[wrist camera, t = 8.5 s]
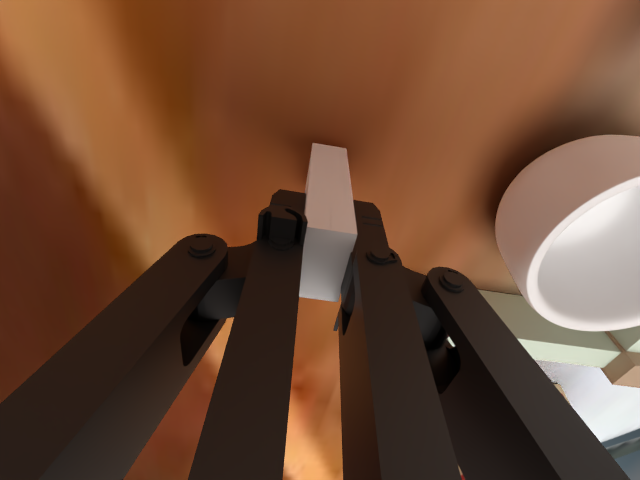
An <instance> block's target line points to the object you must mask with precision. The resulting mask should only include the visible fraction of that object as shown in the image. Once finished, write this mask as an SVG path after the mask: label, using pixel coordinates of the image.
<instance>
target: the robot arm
mask: <svg viewBox="0 0 640 480" xmlns="http://www.w3.org/2000/svg"><path fill="white" fill-rule="evenodd" d="M340 293H341V300H342V302H341V306H340V309H339V312H338V316H337V319H336V322H335V326H334V331H337V329H338V326H339V358H340V390H341V422H342V454H343V480H462V478H461V474H460V471H459V468H460V470H461V472H462V474H463V476H464V478H465V480H630V479H629V478H628V476H627V475H626V474H625V472H624V471H623V470H622V469H621V468H620V466H619V465H618V464H617V462H616V461H615V460H614V459H613V457H612V456H611V455H610V454H609V452H608V451H607V450H606V449H605V447H604V446H603V445H602V444H601V443H600V441H599V440H598V439H597V438H596V436H595V435H594V434H593V433H592V431H591V430H590V429H589V428H588V426H587V425H586V424H585V423H584V421H583V420H582V419H581V418H580V416H579V415H578V414H577V413H576V411H575V410H574V409H573V408H572V406H571V405H570V404H569V403H568V401H567V400H566V399H565V398H564V396H563V395H562V394H561V393H560V392H559V390H558V389H557V388H556V387H555V385H554V384H553V383H552V382H551V380H550V379H549V378H548V377H547V375H546V374H545V373H544V372H543V370H542V369H541V368H540V367H539V365H538V364H537V363H536V362H535V360H534V359H533V358H532V357H531V355H530V354H529V353H528V352H527V350H526V349H525V348H524V347H523V346H522V344H521V343H520V342H519V341H518V339H517V338H516V337H515V336H514V334H513V333H512V332H511V331H510V329H509V328H508V327H507V326H506V324H505V323H504V322H503V321H502V319H501V318H500V317H499V316H498V314H497V313H496V312H495V311H494V309H493V308H492V307H491V306H490V304H489V303H488V302H487V301H486V299H485V298H484V297H483V296H482V295H481V293H480V292H479V291H478V290H477V288H476V287H475V286H474V285H473V283H472V282H471V281H470V280H469V279H468V278H467V277H466V276H464V275H463V274H461V273H459V272H458V271H456V270H453V269H450V268H446V267H436V268H432V269H431V270H430V271H429V272H428V274H427V276H425V275H423V274H420V273H417V272H414V271H412V270H410V269H407V268H405V267H404V266H402V262H401V259H400V258H399V256H398V254H397V253H396V252H394V251H393V250H392V249H390V248H389V246H388V242H387V238H386V234H385V230H384V227H383V222H382V218H381V214H380V211H379V210H378V208H377V207H376V206H375V205H374V204H373V203H369V202H362V201H356V200H353V196H352V188H351V180H350V172H349V165H348V157H347V149H346V148H341V147H335V146H329V145H323V144H317V143H313V144H312V150H311V156H310V162H309V169H308V175H307V181H306V187H305V193H300V192H294V191H287V190H281V189H280V190H278V191H277V192H276V193H275V194H273V195H272V199H271V202H270V206H269V207H267V208H265V209H263V210H262V211H261V212H260V213H259V218H258V231H257V241H255V242H253V243H251V244H248V245H245V246H239V247H227V243H226V242H225V241H224V240H223V239H222V238H219V237H217V236H215V235H210V234H194V235H190V236H187V237H185V238H183V239H182V240H180V241H178V242H177V243H176V244H175V245H174V246H173V247H172V248H171V249H170V250H169V251H168V252H166V253H165V254H164V255H163V256H162V257H161V258H160V259H159V260H158V261H157V262H155V263H154V264H153V265H152V266H151V267H150V268H149V269H148V270H147V271H146V272H144V273H143V274H142V275H141V276H140V277H139V278H138V279H137V280H136V281H135V282H134V283H132V284H131V285H130V286H129V287H128V288H127V289H126V290H125V291H124V292H123V293H121V294H120V295H119V296H118V297H117V298H116V299H115V300H114V301H113V302H112V303H110V304H109V305H108V306H107V307H106V308H105V309H104V310H103V311H102V312H101V313H100V314H98V315H97V316H96V317H95V318H94V319H93V320H92V321H91V322H90V323H89V324H87V325H86V326H85V327H84V328H83V329H82V330H81V331H80V332H79V333H78V334H76V335H75V336H74V337H73V338H72V339H71V340H70V341H69V342H68V343H67V344H66V345H64V346H63V347H62V348H61V349H60V350H59V351H58V352H57V353H56V354H55V355H53V356H52V357H51V358H50V359H49V360H48V361H47V362H46V363H45V364H44V365H42V366H41V367H40V368H39V369H38V370H37V371H36V372H35V373H34V374H33V375H32V376H30V377H29V378H28V379H27V380H26V381H25V382H24V383H23V384H22V385H21V386H19V387H18V388H17V389H16V390H15V391H14V392H13V393H12V394H11V395H10V396H8V397H7V398H6V399H5V400H4V401H3V402H2V403H1V404H0V480H123V478H124V477H125V475H126V474H127V472H128V471H129V469H130V468H131V466H132V465H133V463H134V462H135V460H136V459H137V457H138V455H139V454H140V452H141V451H142V449H143V448H144V446H145V445H146V443H147V442H148V440H149V439H150V437H151V435H152V434H153V432H154V431H155V429H156V428H157V426H158V425H159V423H160V422H161V420H162V419H163V417H164V415H165V414H166V412H167V411H168V409H169V408H170V406H171V405H172V403H173V402H174V400H175V399H176V397H177V395H178V394H179V392H180V391H181V389H182V388H183V386H184V385H185V383H186V382H187V380H188V379H189V377H190V376H191V374H192V372H193V371H194V369H195V368H196V366H197V365H198V363H199V362H200V360H201V359H202V357H203V356H204V354H205V352H206V351H207V349H208V348H209V346H210V345H211V343H212V342H213V340H214V339H215V337H216V336H217V334H218V332H219V331H220V329H221V328H222V326H223V325H224V323H225V321H226V318H231V317H234V321H233V324H232V328H231V331H230V335H229V338H228V342H227V345H226V349H225V352H224V356H223V359H222V363H221V366H220V370H219V373H218V376H217V380H216V383H215V387H214V390H213V394H212V397H211V401H210V404H209V408H208V411H207V415H206V418H205V422H204V425H203V429H202V432H201V436H200V439H199V443H198V446H197V450H196V453H195V457H194V460H193V464H192V467H191V470H190V474H189V477H188V480H282V478H283V467H284V456H285V445H286V434H287V423H288V412H289V401H290V390H291V379H292V368H293V357H294V346H295V335H296V324H297V313H298V302H299V297H304V298H312V299H319V300H327V301H334V302H338V300H339V297H340ZM448 337H450V339H451V340H452V342H453V343H454V345H455V346H454V347H453V346H452V345H451V344H450V342H449V341H448ZM458 466H459V467H458Z"/></svg>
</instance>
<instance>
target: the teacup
mask: <svg viewBox="0 0 640 480" xmlns="http://www.w3.org/2000/svg"><path fill="white" fill-rule="evenodd" d="M495 236H496V242H497V246H498V248H499V251H500V254H501V256H502V258H503V260H504V262H505V264H506V266H507V268H508V270H509V272H510V274H511V276H512V278H513V280H514V282H515V283H516V285H517V287H518V289H519V290H520V292H521V294H522V295H523V297H524V298H525V300H526V301H527V302H528V304H529V305H530V306H531V307H532V308H533V309H534V310H535V311H536V312H537V313H539V314H540V315H541V316H542V317H544V318H545V319H547V320H548V321H550V322H552V323H554V324H556V325H559V326H562V327H565V328H569V329H574V330H581V331H611V330H619V329H626V328H631V327H635V326H639V325H640V137H639V136H628V135H598V136H591V137H586V138H582V139H578V140H575V141H572V142H569V143H566V144H563V145H561V146H558V147H556V148H554V149H552V150H550V151H548V152H546V153H545V154H543V155H541V156H540V157H538V158H537V159H535V160H534V161H533V162H531V163H530V164H529V165H527V166H526V167H525V168H524V169H523V170H522V171H521V172H520V173H519V174H518V175H517V176H516V177H515V178H514V180H513V181H512V182H511V184H510V185H509V186H508V188H507V190H506V191H505V193H504V195H503V197H502V199H501V201H500V204H499V207H498V211H497V215H496V221H495Z"/></svg>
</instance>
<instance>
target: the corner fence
mask: <svg viewBox="0 0 640 480" xmlns="http://www.w3.org/2000/svg"><path fill="white" fill-rule="evenodd" d="M477 290H478V289H477ZM478 291H479V292H480V293H481V295H482V296H483V297H484V298H485V299H486V301H487V302H488V303H489V304H490V306H491V307H492V308H493V309H494V311H495V312H496V313H497V314H498V316H499V317H500V318H501V319H502V321H503V322H504V323H505V324H506V326H507V327H508V328H509V329H510V331H511V332H512V333H513V334H514V336H515V337H516V338H517V339H518V341H519V342H520V343H521V344H522V346H523V347H524V348H525V349H526V350H527V352H528V353H529V354H530V355H531V357H532V358H533V359H536V360H544V361H551V362H559V363H567V364H575V365H583V366H590V367H598V368H601V370H602V371H603V372H604V374H605V375H606V376H607V378H608V379H609V381H610V382H611V383H612V384H613V385H621V386H629V387H637V388H640V325H639V326H635V327H631V328H626V329H619V330H611V331H581V330H574V329H569V328H565V327H562V326H559V325H556V324H554V323H552V322H550V321H548V320H547V319H545V318H544V317H542V316H541V315H540V314H539V313H537V312H536V311H535V310H534V309H533V308H532V307H531V306H530V305H529V304H528V302H527V301H526V300H525V298H524V297H523V296H520V295H513V294H506V293H499V292H492V291H485V290H478ZM448 341H449V342H450V344H451V345H452V346H453V347H454V346H455V345H454V343H453V342H452V340H451V339H450V337H448Z"/></svg>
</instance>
